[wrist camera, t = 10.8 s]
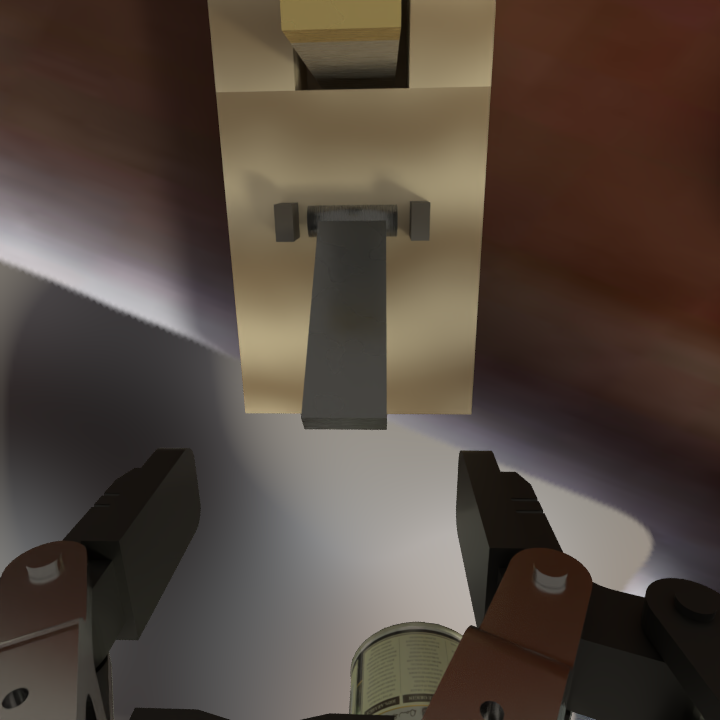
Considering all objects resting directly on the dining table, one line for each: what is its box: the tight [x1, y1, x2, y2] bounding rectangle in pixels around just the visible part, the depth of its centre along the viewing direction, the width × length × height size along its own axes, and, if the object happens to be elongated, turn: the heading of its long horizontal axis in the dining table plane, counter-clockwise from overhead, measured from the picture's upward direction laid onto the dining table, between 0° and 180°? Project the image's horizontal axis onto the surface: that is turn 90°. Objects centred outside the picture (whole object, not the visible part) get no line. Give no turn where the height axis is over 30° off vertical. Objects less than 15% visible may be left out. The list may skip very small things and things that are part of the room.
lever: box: [301, 205, 398, 430], centre depth 22 cm, size 11×4×1 cm
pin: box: [280, 0, 401, 89], centre depth 21 cm, size 4×4×12 cm
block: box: [208, 0, 496, 414], centre depth 26 cm, size 24×12×7 cm, turn 1°
